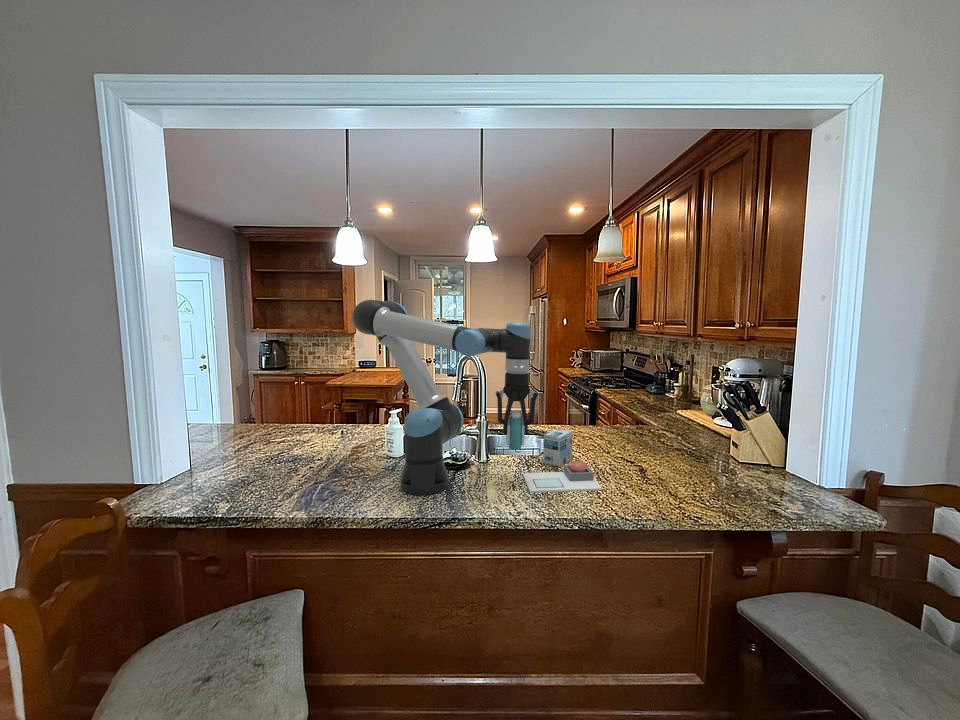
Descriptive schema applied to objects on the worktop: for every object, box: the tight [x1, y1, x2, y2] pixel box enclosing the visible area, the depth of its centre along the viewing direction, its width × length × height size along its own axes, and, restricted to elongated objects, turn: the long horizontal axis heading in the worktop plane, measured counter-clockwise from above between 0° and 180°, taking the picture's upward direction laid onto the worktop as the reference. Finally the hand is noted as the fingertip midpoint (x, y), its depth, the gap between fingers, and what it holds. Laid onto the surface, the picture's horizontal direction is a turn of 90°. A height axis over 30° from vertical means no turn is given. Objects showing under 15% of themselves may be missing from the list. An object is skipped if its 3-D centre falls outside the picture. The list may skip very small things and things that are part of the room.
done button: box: [569, 460, 587, 473], centre depth 129 cm, size 5×5×3 cm
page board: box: [522, 464, 603, 494], centre depth 126 cm, size 22×14×3 cm, turn 93°
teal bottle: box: [508, 409, 523, 451], centre depth 127 cm, size 4×4×12 cm
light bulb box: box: [543, 428, 573, 468], centre depth 145 cm, size 11×7×11 cm, turn 143°
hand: (514, 443), depth 127 cm, fingers closed on teal bottle, 4 cm apart
